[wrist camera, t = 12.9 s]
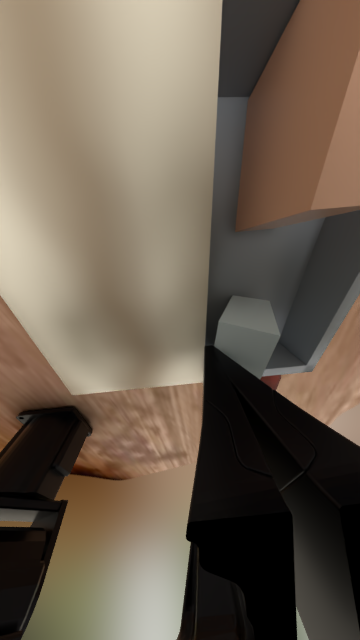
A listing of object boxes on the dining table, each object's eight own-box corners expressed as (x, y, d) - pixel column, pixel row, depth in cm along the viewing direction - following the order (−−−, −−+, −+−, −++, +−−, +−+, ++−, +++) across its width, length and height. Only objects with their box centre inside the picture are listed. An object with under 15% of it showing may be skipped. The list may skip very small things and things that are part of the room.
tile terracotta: (310, 209, 4) (390, 203, 4) (477, -340, 2) (672, -336, 2) (234, 232, 8) (273, 228, 8) (247, 100, 6) (301, 97, 6)
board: (95, 360, 13) (72, 395, 10) (-41, 78, 5) (-318, -148, 2) (195, 352, 13) (203, 382, 10) (196, 78, 6) (228, -116, 3)
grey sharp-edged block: (206, 387, 9) (247, 406, 8) (218, 321, 6) (280, 335, 5) (221, 345, 13) (250, 354, 12) (232, 295, 10) (269, 300, 9)
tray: (195, 352, 13) (203, 382, 10) (196, 78, 6) (228, -116, 3) (279, 344, 14) (311, 371, 11) (383, 78, 6) (595, -92, 3)
